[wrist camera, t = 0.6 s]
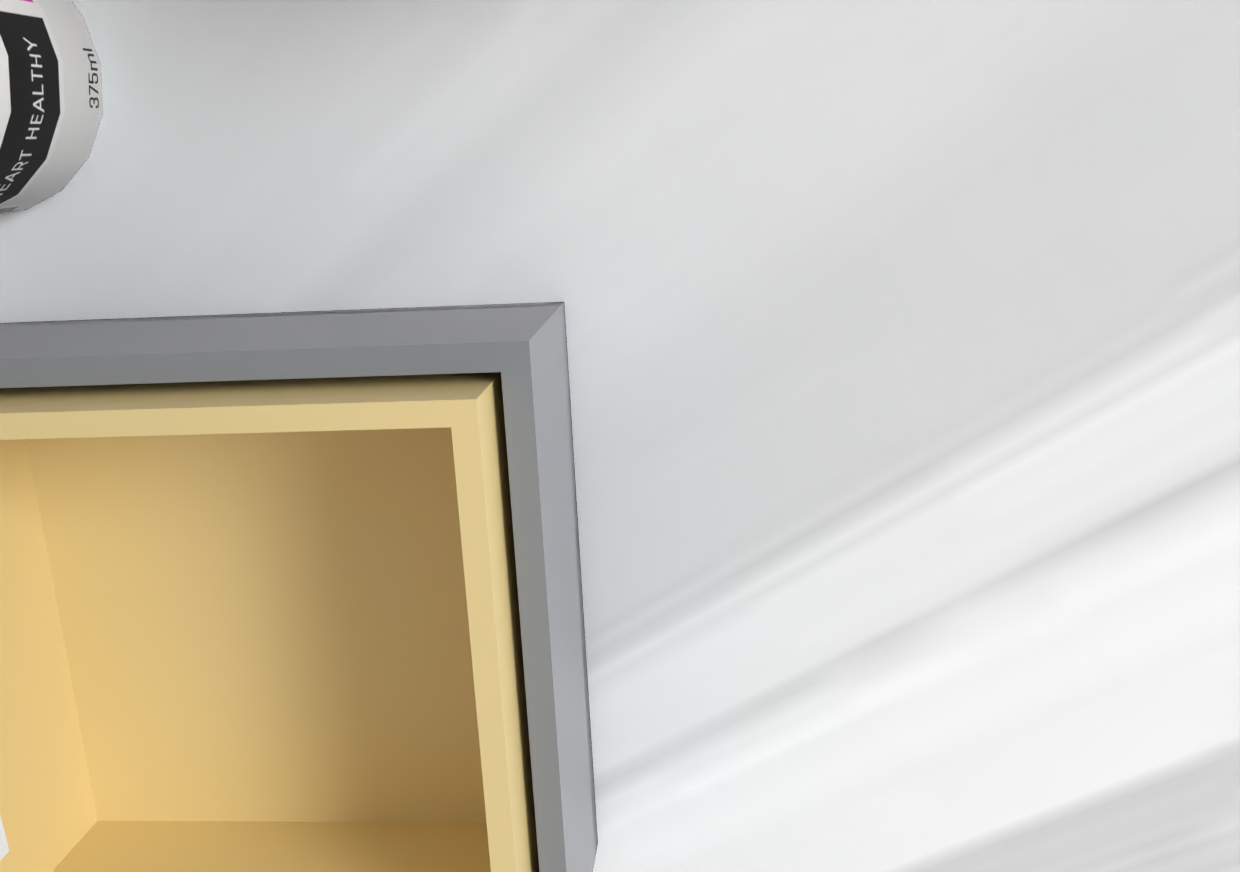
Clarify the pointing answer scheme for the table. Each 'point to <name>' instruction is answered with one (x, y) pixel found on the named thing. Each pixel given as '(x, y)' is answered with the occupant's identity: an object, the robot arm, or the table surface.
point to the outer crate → (389, 346)
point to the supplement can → (45, 99)
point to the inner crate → (261, 628)
